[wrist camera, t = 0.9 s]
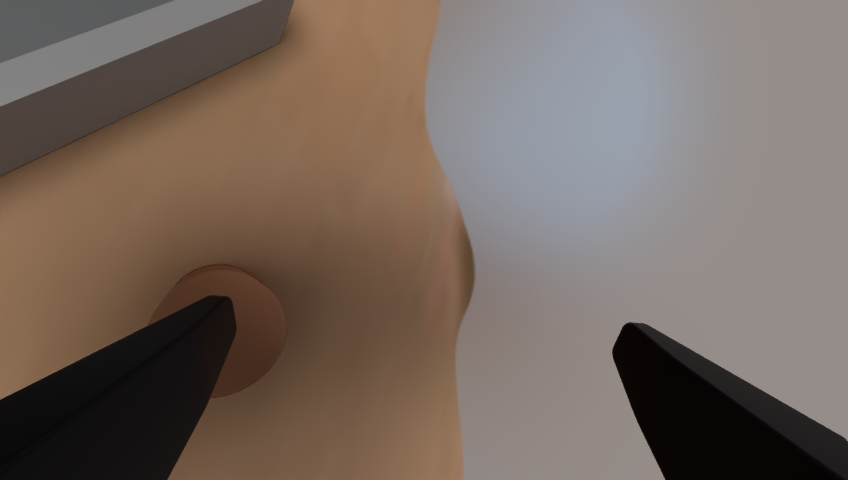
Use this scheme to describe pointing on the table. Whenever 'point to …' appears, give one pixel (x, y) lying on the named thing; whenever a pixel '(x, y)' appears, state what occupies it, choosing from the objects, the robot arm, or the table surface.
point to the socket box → (113, 61)
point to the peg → (254, 319)
